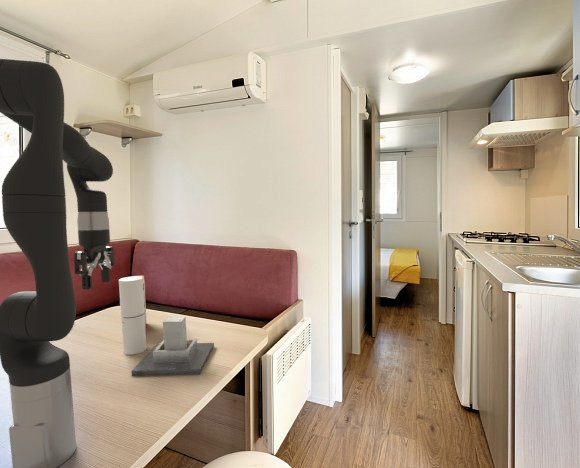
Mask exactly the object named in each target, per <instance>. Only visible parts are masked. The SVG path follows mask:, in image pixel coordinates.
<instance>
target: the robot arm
mask: <svg viewBox="0 0 580 468" xmlns="http://www.w3.org/2000/svg"><path fill="white" fill-rule="evenodd" d="M64 93H65V92H64V87H63V82H62V79H61V77H60V75H59V72H58V71H57V69H55V67H53V65H50V64H49V63H46V62H42V61H32V60H22V59H21V60H20V59H10V58H9V59H8V58H0V113H1V114H2V115H4V116H5V117H6V118H8V119H9V120H11V121H12V122H14V123H16V124H17V125H19V126H20V127H21V128H23V129H24V130H26V131H28V132H29V133H30V138H29V140H28V142H27V145H25V148H24V149H23V151H22V152H21V154H20V156H19V157H18V158H17V159H16V161H15V162H14V163H13V165H12V166H11V167H10V169H9V170H8V172H7V174H6V175H5V177H4V179H3V182H2V185H1V203H2V204H1V205H2V218H3V222H4V225H5V227H6V230H7V232H8V233H9V234H10V236H11V238H12V239H13V241H14V242H15V243H16V244H17V246H18V247H19V249H20V250H21V252H22V254H24V256H25V257H26V259H27V260H28V262H29V264H30V266H31V269H32V271H33V277H34V282H35V291H34V290H33V291H32V290H31V291H28V290H27V291H18V292H14V293H12V294H9V295H8V296H6V297H5V299H3V300H2V302H1V303H0V364H1V366H2V369H3V371H4V372H5V373H6V374H7V376H8V382H9V392H10V402H11V403H10V405H11V412H12V423H13V424H12V425H11V426H10V427H8V433H9V434H8V435H9V443H10V445H9V446H10V454H11V455H10V456H11V463H12V465H11V466H12V468H58V467H60V466H61V465H62V464H64V463H65V462H67V461H68V460H69V459H70V458H71V457H72V456H73V455H74V453H75V451H76V450H77V439H76V437H77V436H76V424H75V413H74V411H75V410H74V400H73V389H72V376H71V375H72V374H71V362H70V355H69V353H68V352H67V351H66V350H65V349H62V348H60V347H58V346H56V345H55V344H53V343H52V342H57V341H60V340H63V339H65V338H66V337H67V336H68V335H69V334H70V333H71V331H72V330H73V327H74V325H75V321H76V315H77V303H76V296H75V290H74V285H73V277H72V271H71V266H70V258H69V247H68V234H67V233H68V231H67V203H66V201H67V200H66V189H65V187H66V186H65V176H64V175H65V174H64V163H66V170H67V173H68V176H69V178H70V181H71V184H72V186H73V189H74V192H75V196H76V202H77V203H76V204H77V205H76V207H77V221H76V223H77V235H78V236H77V239H78V245H79V246H80V247H82V249H83V250H82V251H75V252H74V254H73V257H74V264H73V265H74V275H75V276H76V275H78V276H81V277H80V278H81V286H82V287H81V288H82V289H83V290H91V289H92V288H93V278H92V274H93V270H94V269H96V267H97V265H98V266H99V267H100V268H101V270H100V273H101V282H102V283H110V282H111V269H112V267H115V265H116V264H115V252H114V246H110V244H111V236H110V235H111V233H110V220H109V219H110V218H109V214H108V199H107V194H106V192H105V191H102V190H98V189H93V188H90V187H89V185H88V183H87V182H89V183H90V182H91V183H92V182H94V183H95V182H97V183H98V182H100V183H101V182H107V181H108V180H110V179H111V178H112V177H113V174H114V168H113V167H114V166H113V164H112V162H111V161H110V159H109V158H108V157H107V156H106V155H105V154H103V153H102V152H101V151H99V150H97V149H96V148H94V147H93V146H92V145H90V144H89V143H88V141H87V140H86V138H85V137H84V136H83V135H82V134H81V132H79V131H78V130H77V129H76V128H74V127H73V126H71V125H70V124H68V123H67V122H65V94H64ZM108 245H109V246H108ZM80 267H81V268H80Z"/></svg>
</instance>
